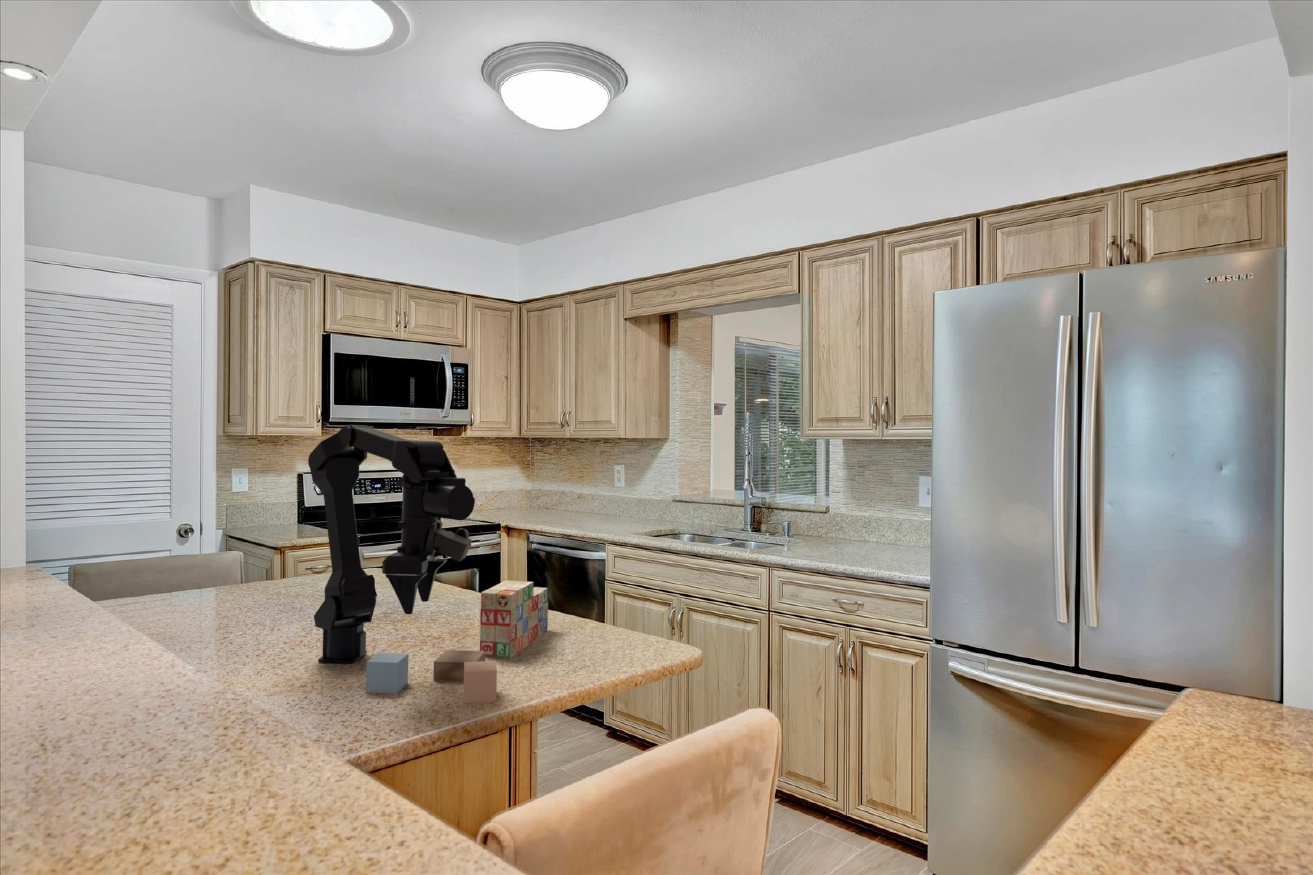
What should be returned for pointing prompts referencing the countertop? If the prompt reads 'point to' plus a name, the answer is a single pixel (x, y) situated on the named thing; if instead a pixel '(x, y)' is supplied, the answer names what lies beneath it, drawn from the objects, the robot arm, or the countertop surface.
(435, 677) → the walnut slab
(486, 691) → the terracotta cube
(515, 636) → the stack of blocks
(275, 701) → the countertop surface
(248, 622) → the countertop surface
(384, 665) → the slate cube
